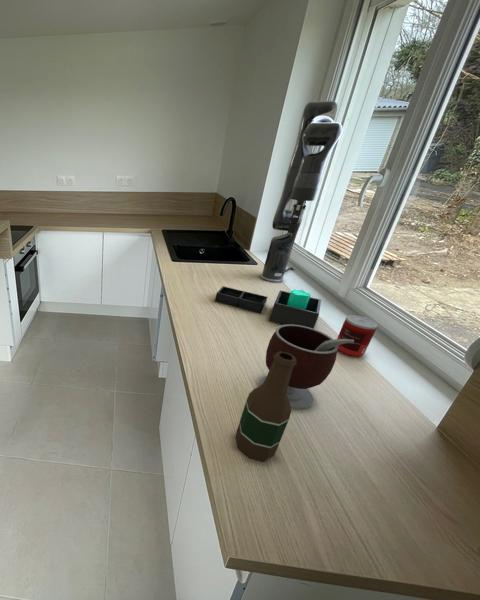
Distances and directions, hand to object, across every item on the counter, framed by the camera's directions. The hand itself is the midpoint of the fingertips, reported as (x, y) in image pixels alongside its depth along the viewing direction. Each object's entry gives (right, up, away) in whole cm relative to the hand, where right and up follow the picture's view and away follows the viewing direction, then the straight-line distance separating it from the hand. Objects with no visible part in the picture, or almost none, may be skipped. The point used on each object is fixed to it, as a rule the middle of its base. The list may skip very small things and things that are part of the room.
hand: (292, 230), depth 122 cm
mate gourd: (-26, -51, -37) cm, 68 cm away
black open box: (0, -34, 0) cm, 34 cm away
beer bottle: (-43, -58, -53) cm, 90 cm away
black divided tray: (-14, -28, +11) cm, 33 cm away
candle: (0, -33, -1) cm, 33 cm away
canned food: (+5, -43, -19) cm, 47 cm away
